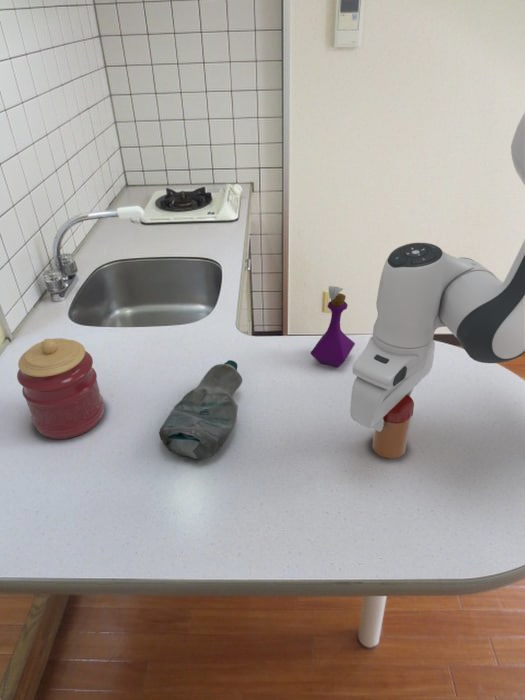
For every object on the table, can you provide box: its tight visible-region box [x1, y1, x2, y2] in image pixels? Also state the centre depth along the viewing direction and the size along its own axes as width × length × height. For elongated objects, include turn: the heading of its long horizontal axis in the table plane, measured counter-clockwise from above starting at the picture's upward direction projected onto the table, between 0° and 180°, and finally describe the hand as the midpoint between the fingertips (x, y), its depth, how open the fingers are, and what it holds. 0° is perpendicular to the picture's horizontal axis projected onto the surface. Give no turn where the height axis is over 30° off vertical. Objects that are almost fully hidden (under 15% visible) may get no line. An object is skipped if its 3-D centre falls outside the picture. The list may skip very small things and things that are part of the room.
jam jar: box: [371, 418, 411, 460], centre depth 89 cm, size 6×6×10 cm
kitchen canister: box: [16, 337, 105, 440], centre depth 96 cm, size 13×13×18 cm
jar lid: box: [383, 395, 415, 423], centre depth 86 cm, size 6×6×2 cm
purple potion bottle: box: [310, 285, 356, 369], centre depth 109 cm, size 8×8×18 cm
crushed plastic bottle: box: [158, 359, 243, 460], centre depth 97 cm, size 13×7×25 cm
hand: (389, 416), depth 88 cm, fingers closed on jar lid, 6 cm apart
